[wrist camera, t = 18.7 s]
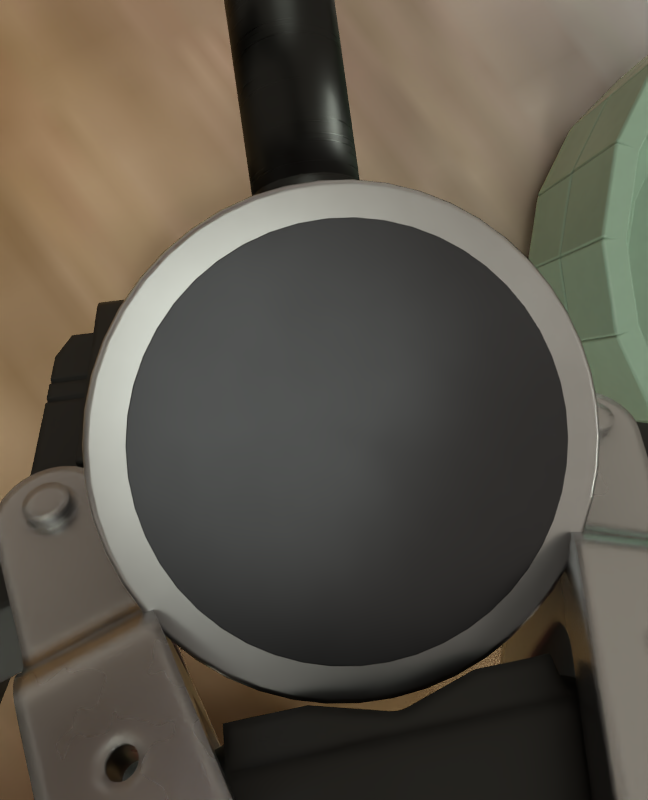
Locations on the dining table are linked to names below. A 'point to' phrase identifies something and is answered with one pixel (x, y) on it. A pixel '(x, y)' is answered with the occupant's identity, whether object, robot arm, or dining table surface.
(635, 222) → the bowl
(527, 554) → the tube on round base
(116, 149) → the dining table surface
